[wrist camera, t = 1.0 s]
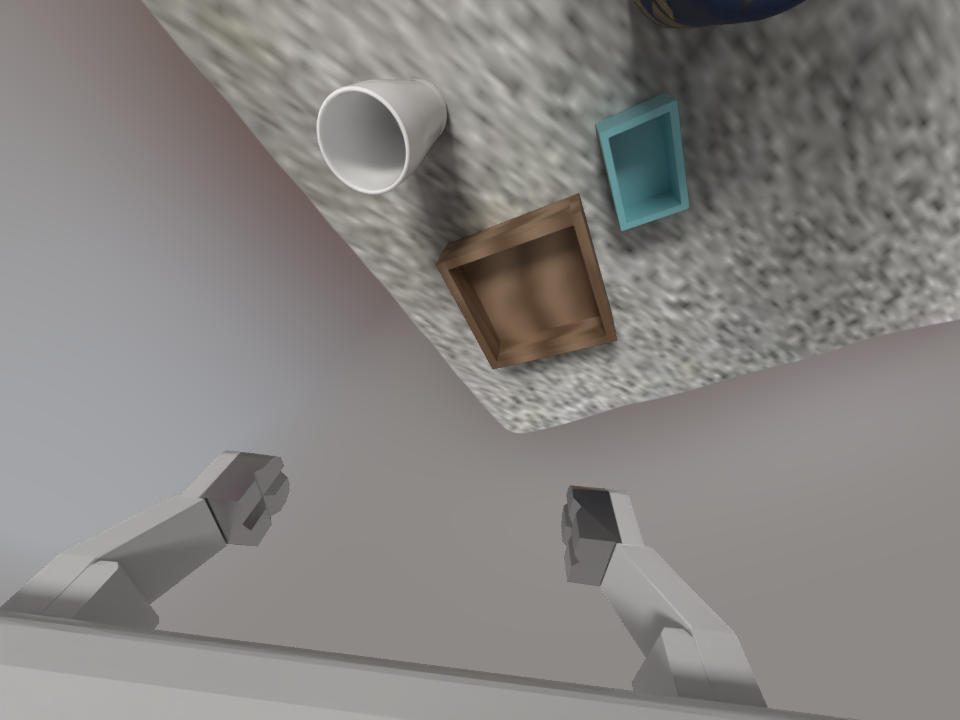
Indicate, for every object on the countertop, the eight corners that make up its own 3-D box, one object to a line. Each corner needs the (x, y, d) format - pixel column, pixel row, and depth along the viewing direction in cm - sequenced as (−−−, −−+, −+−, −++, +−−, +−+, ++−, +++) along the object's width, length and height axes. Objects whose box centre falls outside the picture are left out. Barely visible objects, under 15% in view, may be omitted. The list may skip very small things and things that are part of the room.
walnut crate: (579, 193, 40) (581, 211, 36) (612, 314, 48) (617, 340, 44) (447, 244, 46) (436, 265, 42) (497, 344, 54) (492, 369, 50)
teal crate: (663, 92, 33) (677, 99, 30) (676, 191, 38) (689, 208, 35) (595, 123, 36) (599, 133, 32) (615, 213, 41) (621, 231, 37)
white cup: (469, 115, 37) (430, 151, 25) (424, 165, 40) (372, 215, 29) (418, 48, 34) (349, 55, 23) (375, 108, 38) (296, 139, 26)
